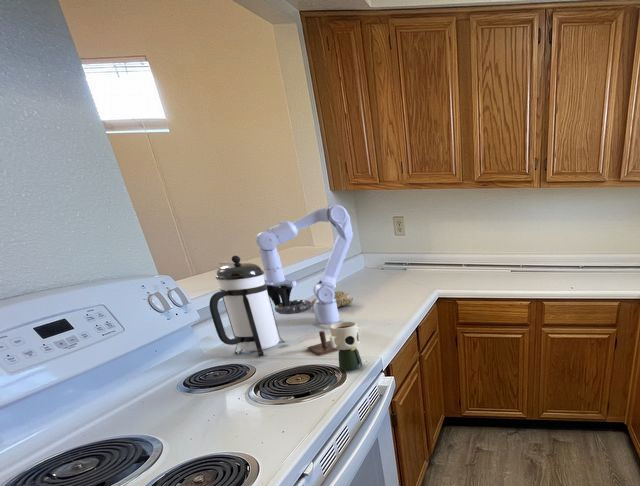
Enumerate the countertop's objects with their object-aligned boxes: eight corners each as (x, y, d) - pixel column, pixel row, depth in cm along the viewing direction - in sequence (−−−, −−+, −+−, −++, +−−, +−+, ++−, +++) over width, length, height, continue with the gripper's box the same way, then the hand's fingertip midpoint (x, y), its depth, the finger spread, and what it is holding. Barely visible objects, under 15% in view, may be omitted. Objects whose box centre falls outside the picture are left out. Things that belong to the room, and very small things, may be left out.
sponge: (339, 305, 193) (299, 306, 176) (341, 289, 190) (301, 288, 173) (358, 314, 187) (318, 316, 170) (360, 297, 184) (320, 297, 168)
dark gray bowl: (270, 311, 150) (268, 304, 149) (303, 304, 158) (301, 297, 157) (284, 317, 142) (282, 309, 141) (318, 309, 150) (316, 302, 149)
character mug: (348, 377, 114) (339, 332, 108) (328, 373, 116) (318, 329, 111) (373, 363, 123) (366, 320, 117) (354, 360, 125) (346, 318, 120)
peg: (307, 350, 135) (303, 332, 132) (330, 343, 140) (327, 326, 138) (319, 355, 130) (315, 337, 127) (342, 348, 135) (339, 330, 133)
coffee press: (234, 346, 139) (206, 255, 127) (287, 339, 145) (264, 250, 133) (226, 364, 125) (193, 262, 113) (285, 355, 130) (259, 257, 118)
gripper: (246, 270, 143) (257, 308, 148) (283, 270, 140) (292, 309, 145) (261, 266, 149) (271, 303, 155) (296, 266, 146) (305, 304, 152)
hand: (282, 306), depth 150 cm, fingers closed on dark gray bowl, 3 cm apart
